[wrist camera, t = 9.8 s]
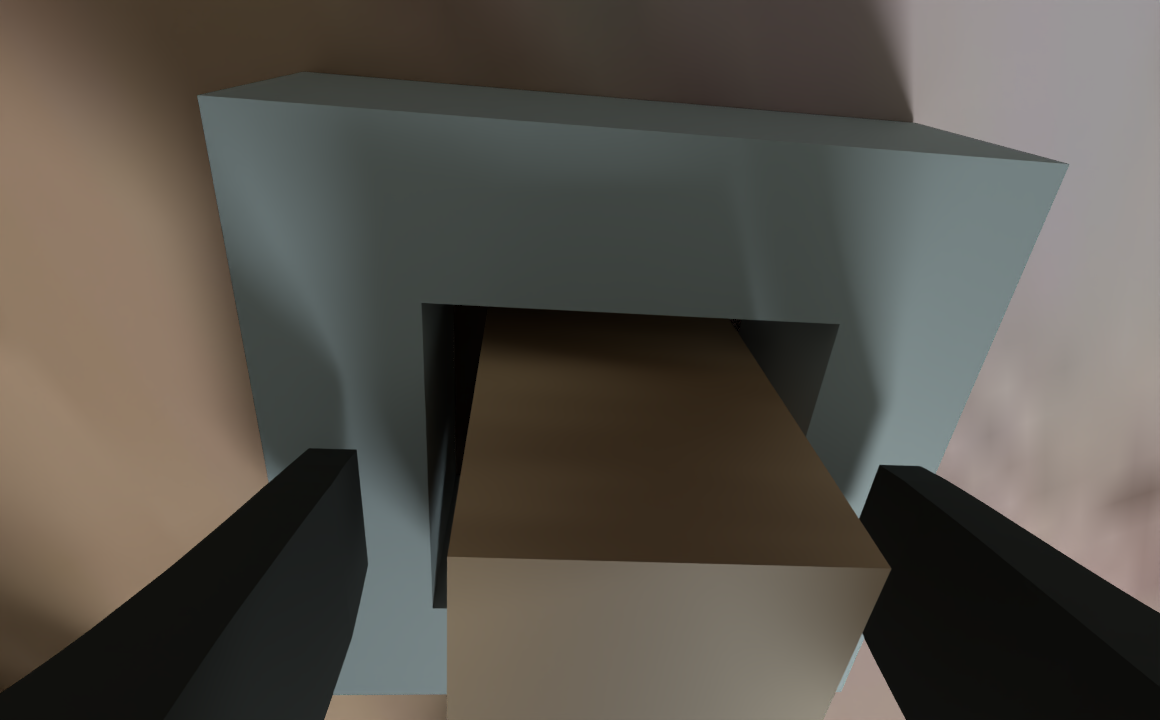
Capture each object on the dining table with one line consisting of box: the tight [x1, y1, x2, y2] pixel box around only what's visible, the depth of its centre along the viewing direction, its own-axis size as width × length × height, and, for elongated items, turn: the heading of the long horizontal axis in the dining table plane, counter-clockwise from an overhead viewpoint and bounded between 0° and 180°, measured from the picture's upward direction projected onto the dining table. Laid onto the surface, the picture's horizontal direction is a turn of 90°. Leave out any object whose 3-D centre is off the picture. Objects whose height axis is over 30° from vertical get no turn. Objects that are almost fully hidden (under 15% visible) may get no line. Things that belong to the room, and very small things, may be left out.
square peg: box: [447, 306, 891, 720], centre depth 10 cm, size 4×4×7 cm
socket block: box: [197, 72, 1069, 695], centre depth 11 cm, size 10×10×4 cm
